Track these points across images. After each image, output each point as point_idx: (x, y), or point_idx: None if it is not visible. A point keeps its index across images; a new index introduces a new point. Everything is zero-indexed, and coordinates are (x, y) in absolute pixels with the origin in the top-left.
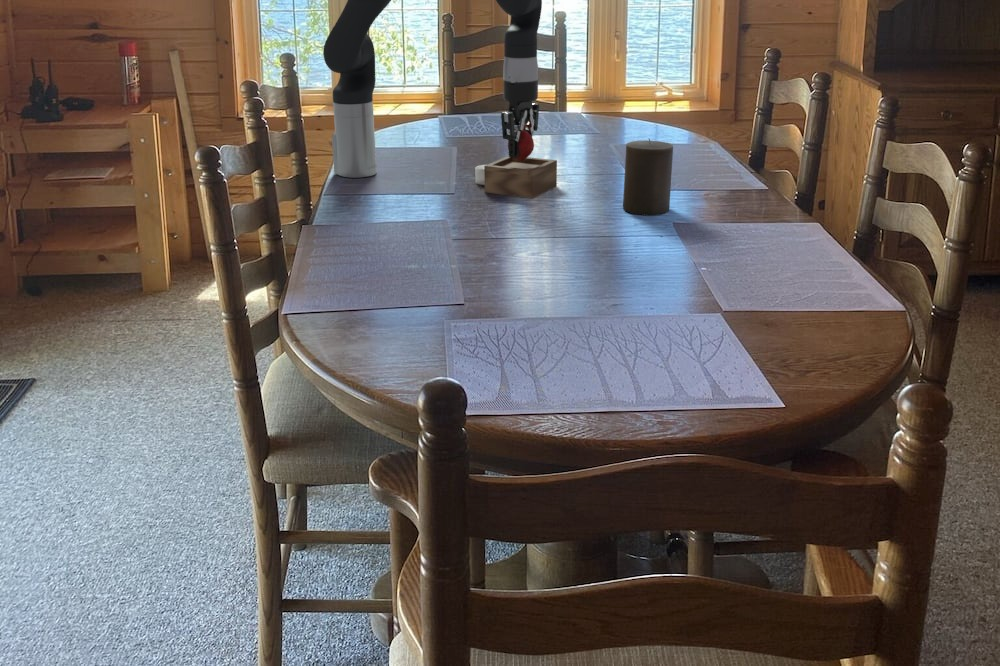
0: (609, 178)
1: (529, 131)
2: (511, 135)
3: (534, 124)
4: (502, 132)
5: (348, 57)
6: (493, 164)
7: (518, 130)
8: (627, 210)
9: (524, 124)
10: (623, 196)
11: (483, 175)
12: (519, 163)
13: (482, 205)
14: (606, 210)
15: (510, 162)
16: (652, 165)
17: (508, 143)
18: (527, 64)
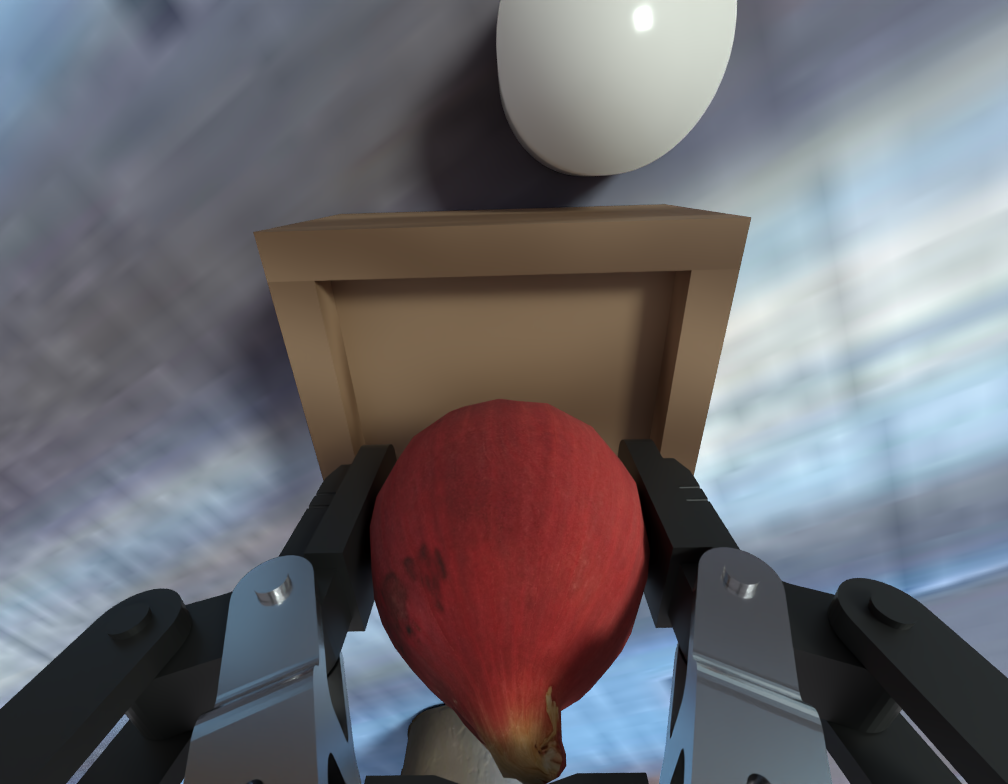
0: (830, 571)
1: (676, 672)
2: (124, 739)
3: (850, 764)
4: (13, 697)
5: None
6: (347, 278)
7: None
8: (415, 722)
9: (670, 769)
10: (430, 750)
11: (498, 74)
12: (614, 356)
13: (135, 344)
14: (402, 680)
15: (621, 279)
16: None
17: (399, 476)
18: None
